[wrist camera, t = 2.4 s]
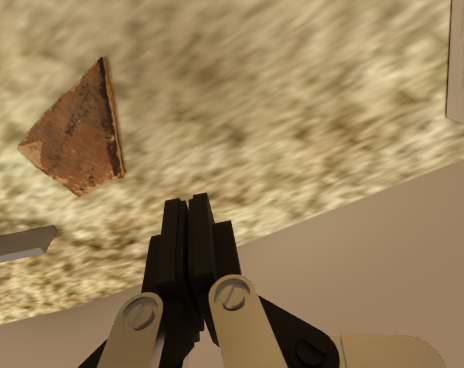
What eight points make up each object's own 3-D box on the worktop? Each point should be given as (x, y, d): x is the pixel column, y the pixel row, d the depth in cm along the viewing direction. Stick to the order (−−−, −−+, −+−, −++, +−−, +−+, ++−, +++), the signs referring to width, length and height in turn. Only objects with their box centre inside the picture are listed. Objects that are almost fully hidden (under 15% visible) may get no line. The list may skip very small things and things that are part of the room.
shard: (106, 52, 21) (100, 56, 19) (178, 127, 25) (177, 135, 23) (19, 140, 24) (7, 150, 22) (96, 195, 27) (90, 206, 26)
